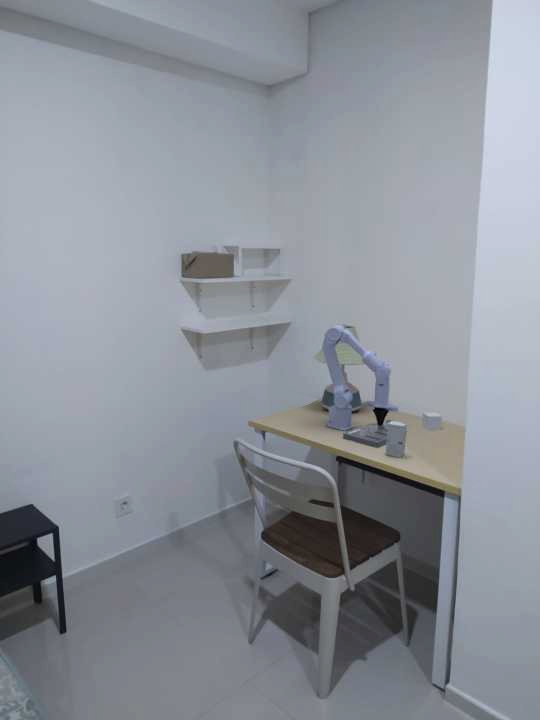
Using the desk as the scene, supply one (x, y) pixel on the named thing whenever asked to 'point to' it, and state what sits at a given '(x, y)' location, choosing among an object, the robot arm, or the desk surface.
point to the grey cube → (432, 421)
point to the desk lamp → (345, 358)
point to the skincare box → (396, 439)
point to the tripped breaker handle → (387, 423)
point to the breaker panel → (368, 435)
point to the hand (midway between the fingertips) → (380, 425)
